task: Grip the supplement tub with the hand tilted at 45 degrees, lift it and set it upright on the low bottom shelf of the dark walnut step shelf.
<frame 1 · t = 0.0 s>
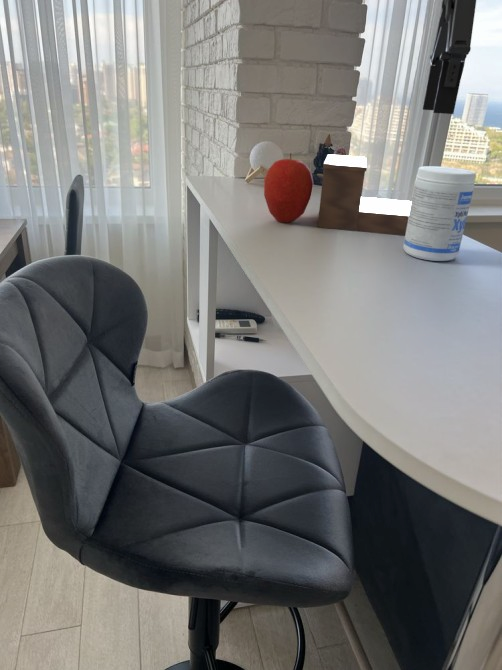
hand: (436, 112, 78), 23 cm above the table, tool pointing down, fingers open, 13 cm apart
supplement tub: (428, 255, 91), on the table
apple: (285, 221, 108), on the table
step shelf: (386, 224, 109), on the table
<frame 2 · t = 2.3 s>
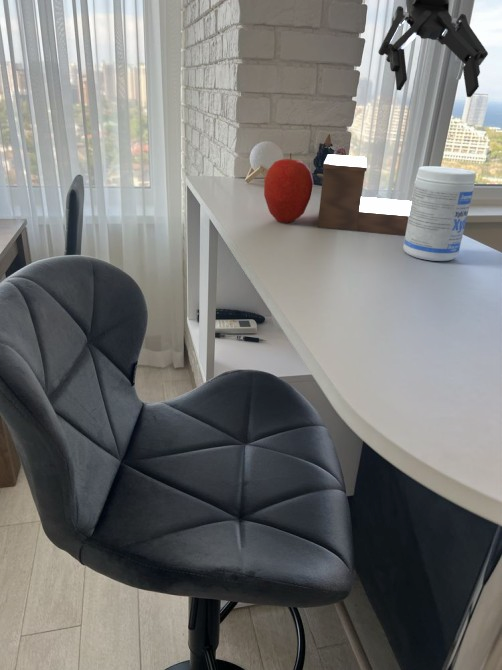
hand: (437, 88, 91), 27 cm above the table, tool tilted 40°, fingers open, 13 cm apart
nothing on the table moved.
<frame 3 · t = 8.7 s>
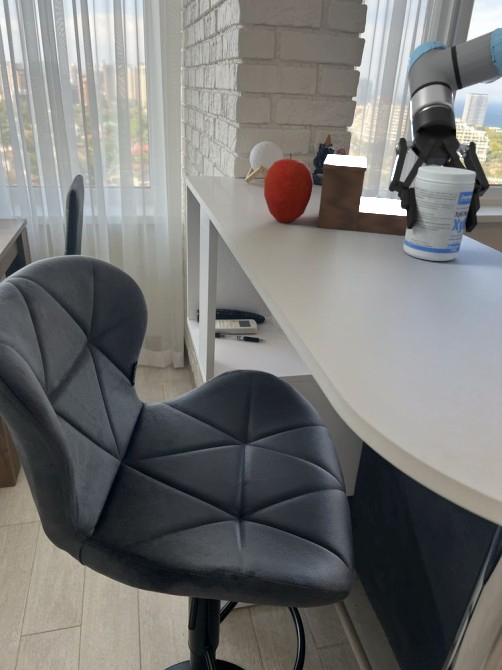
hand: (441, 226, 85), 6 cm above the table, tool tilted 45°, fingers closed on supplement tub, 9 cm apart
supplement tub: (429, 255, 91), on the table, touching gripper
everything else where it was.
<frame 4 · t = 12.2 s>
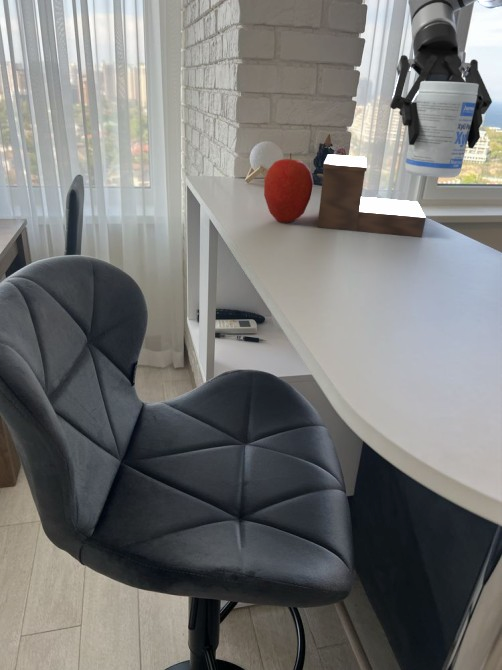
hand: (444, 141, 85), 19 cm above the table, tool tilted 45°, fingers closed on supplement tub, 9 cm apart
supplement tub: (430, 175, 90), point 13 cm above the table, touching gripper
everything else where it was.
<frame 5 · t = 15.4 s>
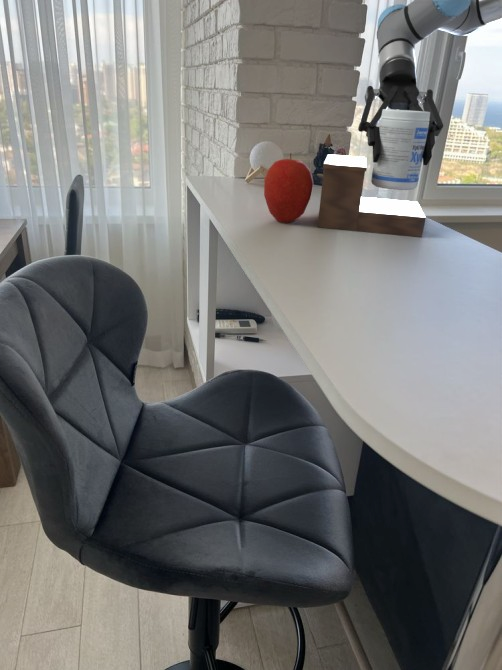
hand: (402, 159, 100), 14 cm above the table, tool tilted 45°, fingers closed on supplement tub, 9 cm apart
supplement tub: (393, 187, 106), point 8 cm above the table, touching gripper
everything else where it was.
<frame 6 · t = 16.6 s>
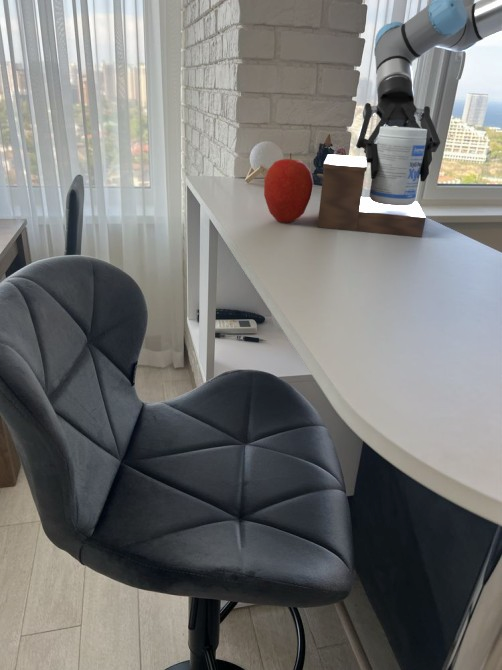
hand: (399, 176, 102), 11 cm above the table, tool tilted 45°, fingers closed on supplement tub, 9 cm apart
supplement tub: (391, 203, 107), point 5 cm above the table, touching gripper
everything else where it was.
when the fingers open (11 cm above the table, at t = 22.1 s): supplement tub drops 1 cm, resting on step shelf.
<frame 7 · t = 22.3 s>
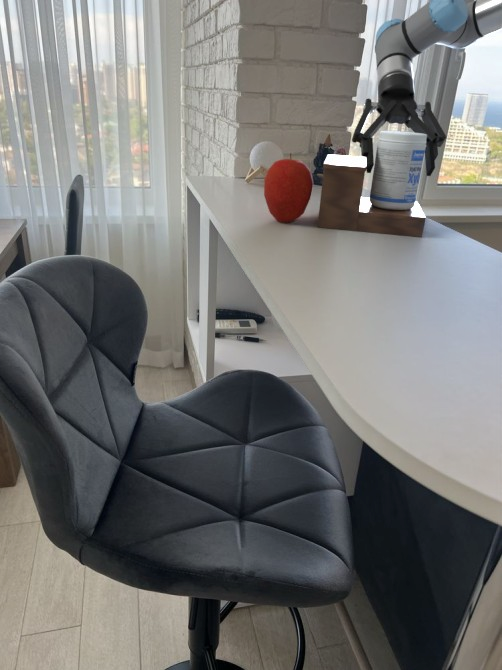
hand: (400, 170, 102), 12 cm above the table, tool tilted 45°, fingers open, 12 cm apart
supplement tub: (390, 207, 108), point 4 cm above the table, touching step shelf
everything else where it was.
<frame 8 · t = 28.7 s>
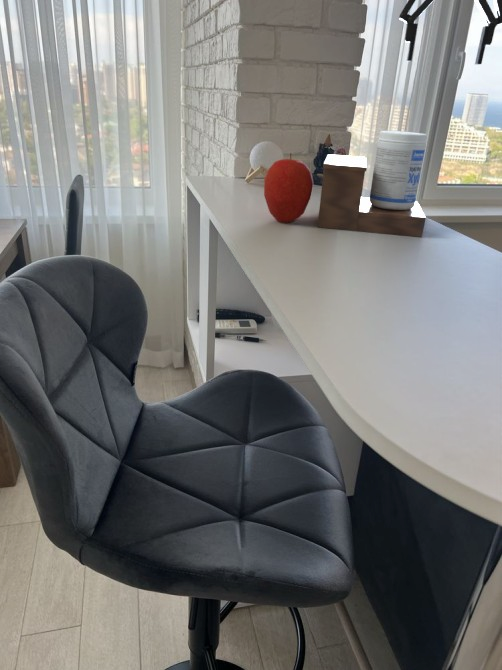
hand: (443, 62, 103), 32 cm above the table, tool pointing down, fingers open, 13 cm apart
nothing on the table moved.
at the end: supplement tub inside the target area (0.2 cm from its centre), point 3.8 cm above the table; supplement tub tilted 0°; the gripper is holding nothing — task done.
